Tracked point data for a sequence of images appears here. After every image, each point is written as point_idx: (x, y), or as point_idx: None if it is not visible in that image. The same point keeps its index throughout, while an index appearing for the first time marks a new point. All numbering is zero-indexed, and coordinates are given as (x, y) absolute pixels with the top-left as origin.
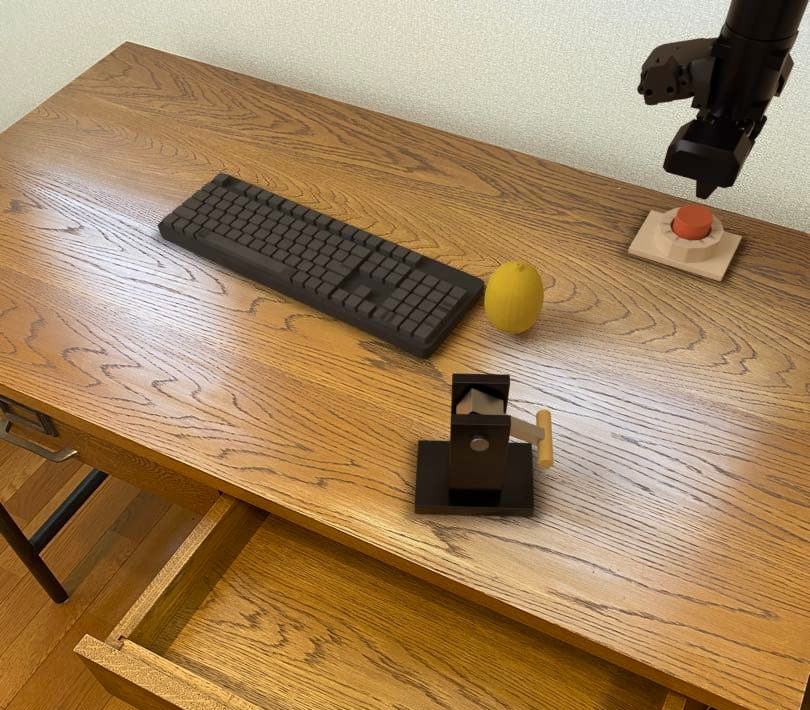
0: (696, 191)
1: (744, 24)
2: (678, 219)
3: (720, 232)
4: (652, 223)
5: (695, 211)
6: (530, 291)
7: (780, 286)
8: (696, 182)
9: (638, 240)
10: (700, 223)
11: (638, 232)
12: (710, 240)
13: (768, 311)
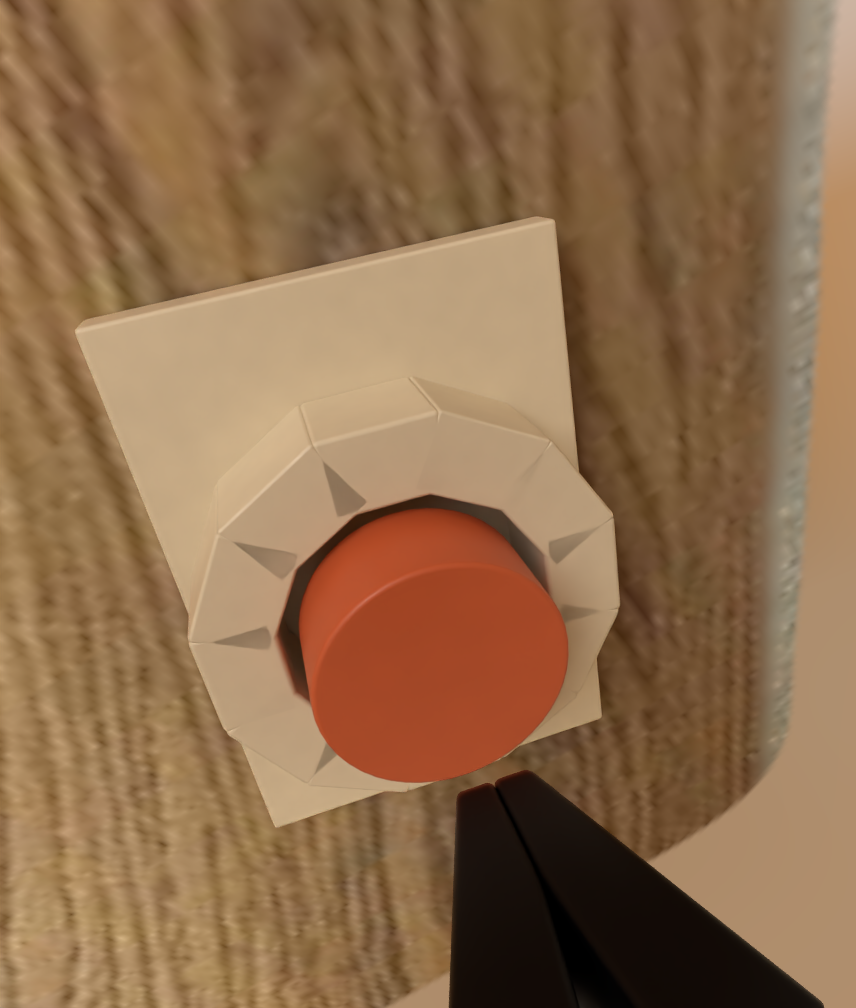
0: (457, 843)
1: None
2: (333, 626)
3: None
4: (426, 311)
5: (487, 659)
6: None
7: (420, 930)
8: (454, 946)
9: (197, 337)
10: (386, 753)
11: (272, 287)
12: None
13: (252, 988)
